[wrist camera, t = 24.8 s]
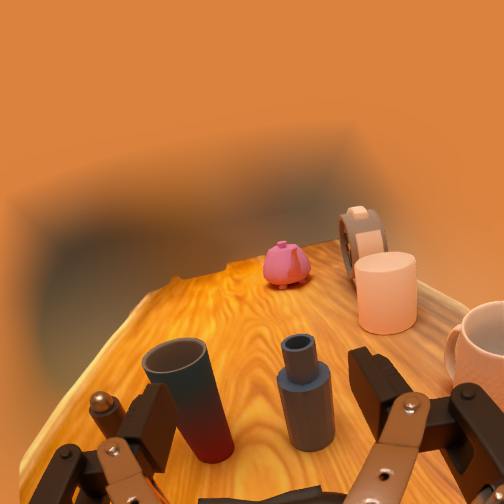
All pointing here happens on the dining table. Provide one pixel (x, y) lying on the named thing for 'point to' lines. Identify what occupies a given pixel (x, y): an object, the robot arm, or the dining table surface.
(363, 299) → the cup
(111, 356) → the dining table surface
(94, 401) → the pepper mill
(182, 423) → the cup
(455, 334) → the mug
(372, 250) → the alarm clock
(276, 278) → the teapot
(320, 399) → the bottle
